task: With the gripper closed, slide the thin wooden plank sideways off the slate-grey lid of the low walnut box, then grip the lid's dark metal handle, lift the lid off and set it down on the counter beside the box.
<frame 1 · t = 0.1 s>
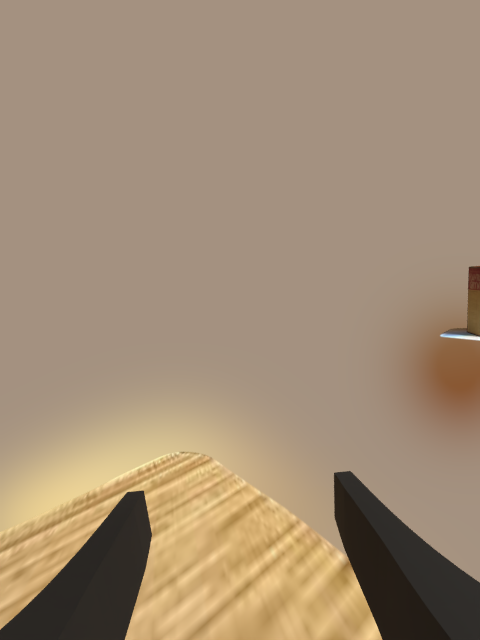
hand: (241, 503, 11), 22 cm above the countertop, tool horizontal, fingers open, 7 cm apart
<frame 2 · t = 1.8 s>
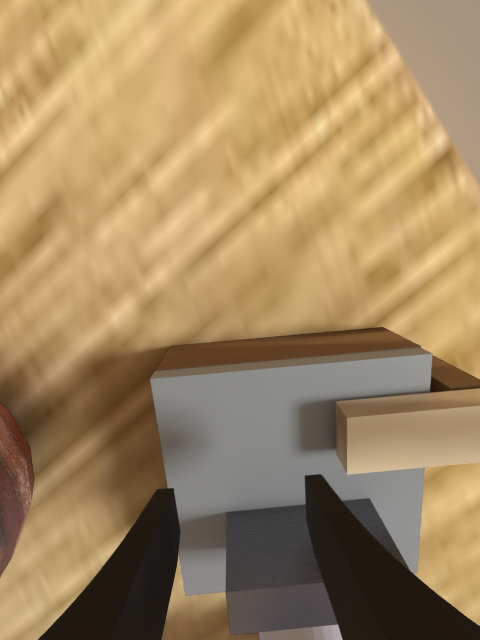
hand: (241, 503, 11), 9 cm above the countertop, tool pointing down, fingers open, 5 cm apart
thin wooden plank: (422, 429, 15), point 6 cm above the countertop, slide at 0.0 cm
lid: (293, 472, 17), point 4 cm above the countertop, touching box
box: (282, 431, 21), on the countertop
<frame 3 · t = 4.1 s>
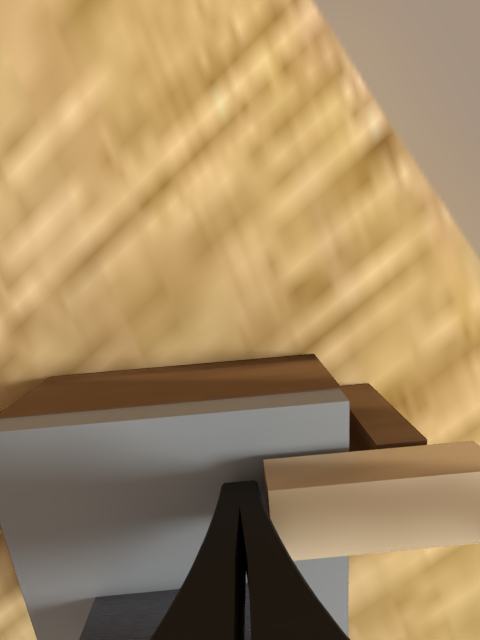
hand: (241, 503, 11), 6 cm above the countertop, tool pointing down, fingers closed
thin wooden plank: (376, 499, 11), point 6 cm above the countertop, slide at 1.6 cm, touching gripper
lid: (187, 543, 14), point 4 cm above the countertop, touching box
box: (198, 477, 17), on the countertop
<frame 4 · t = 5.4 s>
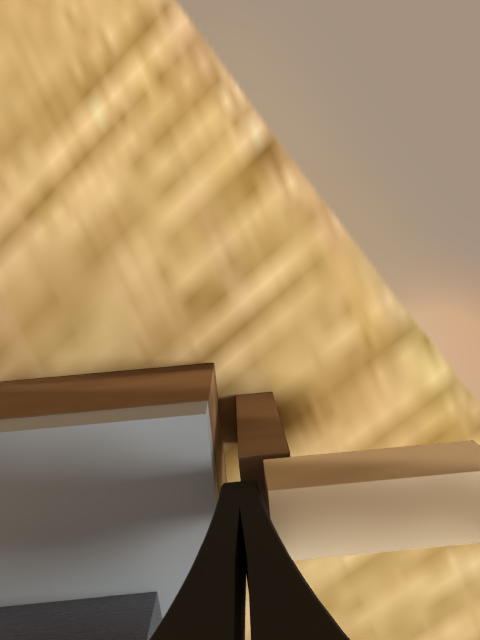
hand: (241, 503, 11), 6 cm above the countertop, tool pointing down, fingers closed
thin wooden plank: (377, 499, 11), point 6 cm above the countertop, slide at 6.9 cm, touching gripper
lid: (70, 554, 14), point 4 cm above the countertop, touching box
box: (106, 485, 17), on the countertop
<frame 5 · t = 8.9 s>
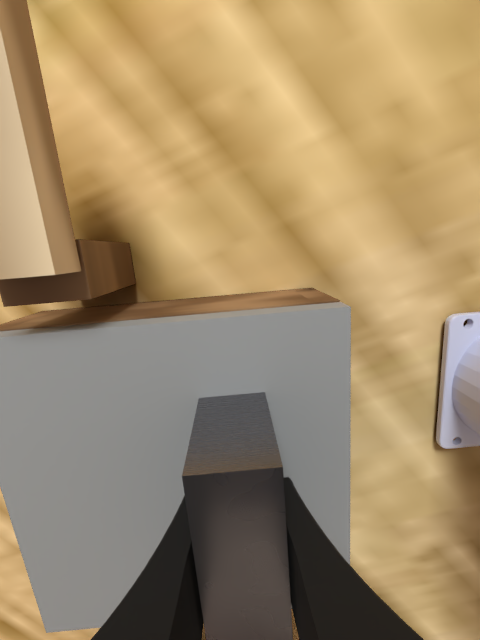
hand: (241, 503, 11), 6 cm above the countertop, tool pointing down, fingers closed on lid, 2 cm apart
lid: (183, 472, 13), point 4 cm above the countertop, touching gripper
box: (193, 420, 17), on the countertop
when the fingers open (4 cm above the countertop, at t = 12.8 s): lid drops 2 cm, on the countertop.
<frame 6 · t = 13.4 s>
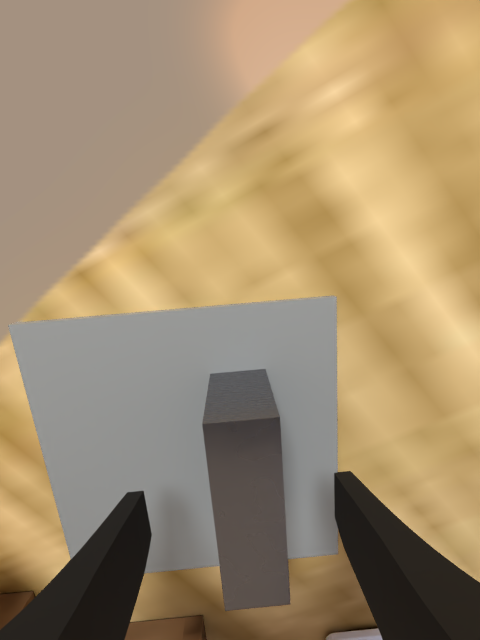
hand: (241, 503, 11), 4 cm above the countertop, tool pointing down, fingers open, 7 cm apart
lid: (195, 440, 15), on the countertop
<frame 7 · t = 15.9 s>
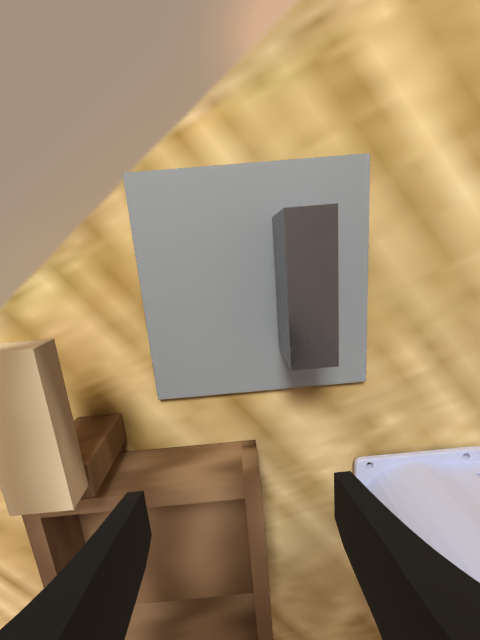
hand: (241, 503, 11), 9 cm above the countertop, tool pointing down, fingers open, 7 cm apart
thin wooden plank: (31, 428, 14), point 6 cm above the countertop, slide at 7.0 cm
lid: (254, 284, 19), on the countertop
box: (170, 528, 23), on the countertop
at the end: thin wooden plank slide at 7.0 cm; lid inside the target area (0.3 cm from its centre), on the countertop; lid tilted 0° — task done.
